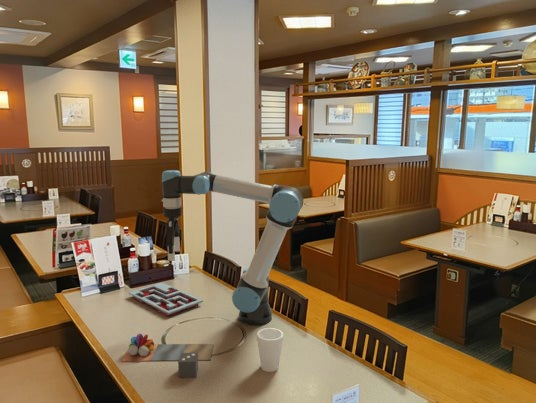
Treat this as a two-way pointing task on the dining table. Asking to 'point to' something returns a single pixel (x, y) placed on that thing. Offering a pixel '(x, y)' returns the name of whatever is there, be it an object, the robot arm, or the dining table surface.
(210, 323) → the dining table surface
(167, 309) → the maze game
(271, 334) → the foam cup
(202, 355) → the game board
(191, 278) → the dining table surface
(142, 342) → the multicoloured rounded cluster
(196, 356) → the die
